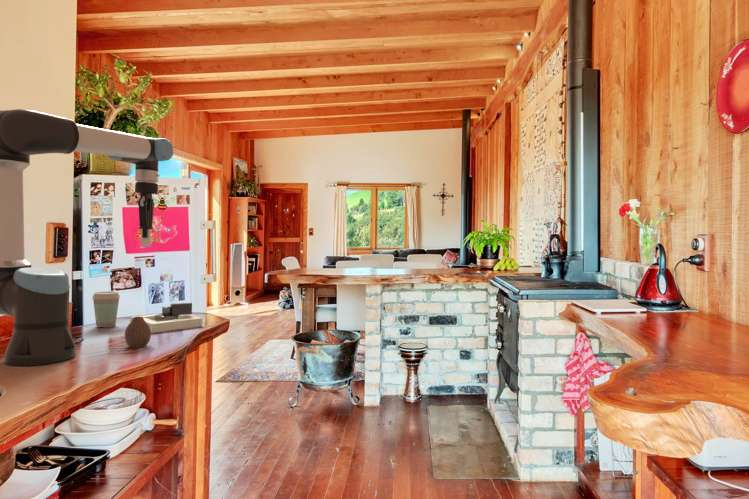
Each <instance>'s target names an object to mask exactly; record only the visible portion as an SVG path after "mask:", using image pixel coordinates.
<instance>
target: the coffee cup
mask: <svg viewBox="0 0 749 499" xmlns="http://www.w3.org/2000/svg"><path fill="white" fill-rule="evenodd" d="M91 299H92V300H93V310H94V318H95V327H96V326H97V327H110V328H113V327H116V324H117V316H118V310H119V301H120V299H121V297H120V294H119V292H118V291H97V292H94V293H93V296H92V298H91ZM97 327H96V328H97Z"/></svg>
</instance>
